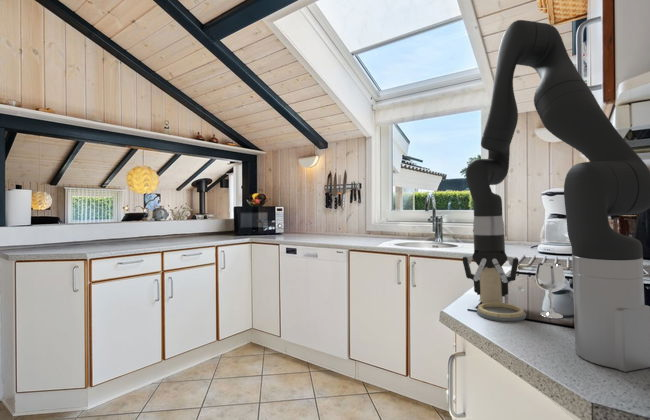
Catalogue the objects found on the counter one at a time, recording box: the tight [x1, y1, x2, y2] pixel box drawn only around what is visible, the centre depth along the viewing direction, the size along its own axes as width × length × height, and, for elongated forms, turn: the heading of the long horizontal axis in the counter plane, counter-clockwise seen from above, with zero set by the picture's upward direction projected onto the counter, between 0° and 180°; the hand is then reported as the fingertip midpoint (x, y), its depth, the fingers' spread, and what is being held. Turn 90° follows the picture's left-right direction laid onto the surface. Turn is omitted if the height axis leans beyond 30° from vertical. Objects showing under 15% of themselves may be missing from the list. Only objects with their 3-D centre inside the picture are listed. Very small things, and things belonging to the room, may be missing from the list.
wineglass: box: [535, 262, 566, 320], centre depth 80 cm, size 6×6×12 cm
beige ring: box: [476, 302, 526, 323], centre depth 82 cm, size 10×10×2 cm
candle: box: [479, 267, 504, 304], centre depth 92 cm, size 6×6×10 cm
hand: (490, 294), depth 92 cm, fingers closed on candle, 5 cm apart
